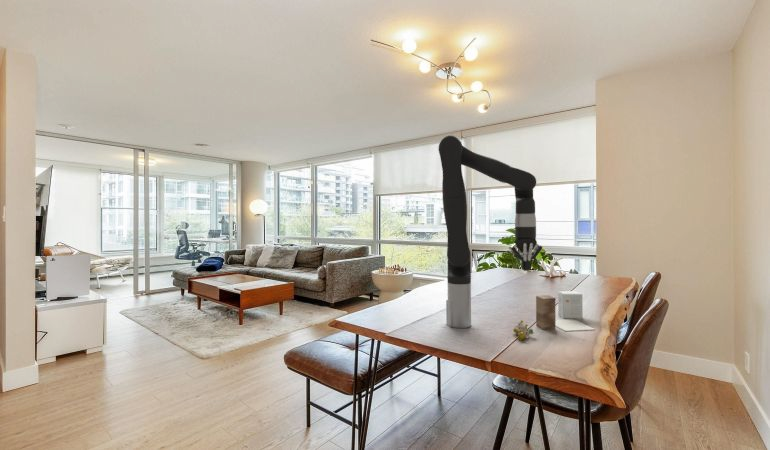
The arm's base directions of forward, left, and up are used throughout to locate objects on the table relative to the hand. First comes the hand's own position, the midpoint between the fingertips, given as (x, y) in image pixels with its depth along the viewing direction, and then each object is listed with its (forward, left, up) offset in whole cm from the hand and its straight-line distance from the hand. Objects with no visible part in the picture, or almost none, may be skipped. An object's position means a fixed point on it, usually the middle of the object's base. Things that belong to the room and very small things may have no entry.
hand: (525, 270), depth 137 cm
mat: (+19, +1, -23) cm, 29 cm away
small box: (+26, +12, -23) cm, 37 cm away
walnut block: (+8, 0, -23) cm, 24 cm away
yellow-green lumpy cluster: (-5, -6, -23) cm, 24 cm away
